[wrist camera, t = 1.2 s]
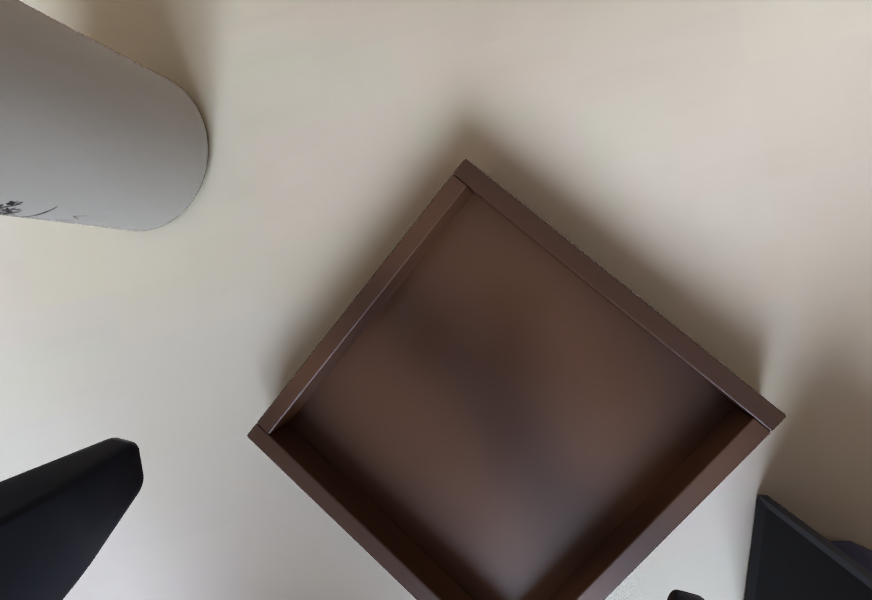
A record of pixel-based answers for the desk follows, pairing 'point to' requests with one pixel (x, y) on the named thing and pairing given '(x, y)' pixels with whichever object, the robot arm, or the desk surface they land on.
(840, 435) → the desk surface
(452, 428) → the tray
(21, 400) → the desk surface
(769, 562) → the speaker
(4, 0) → the travel mug
